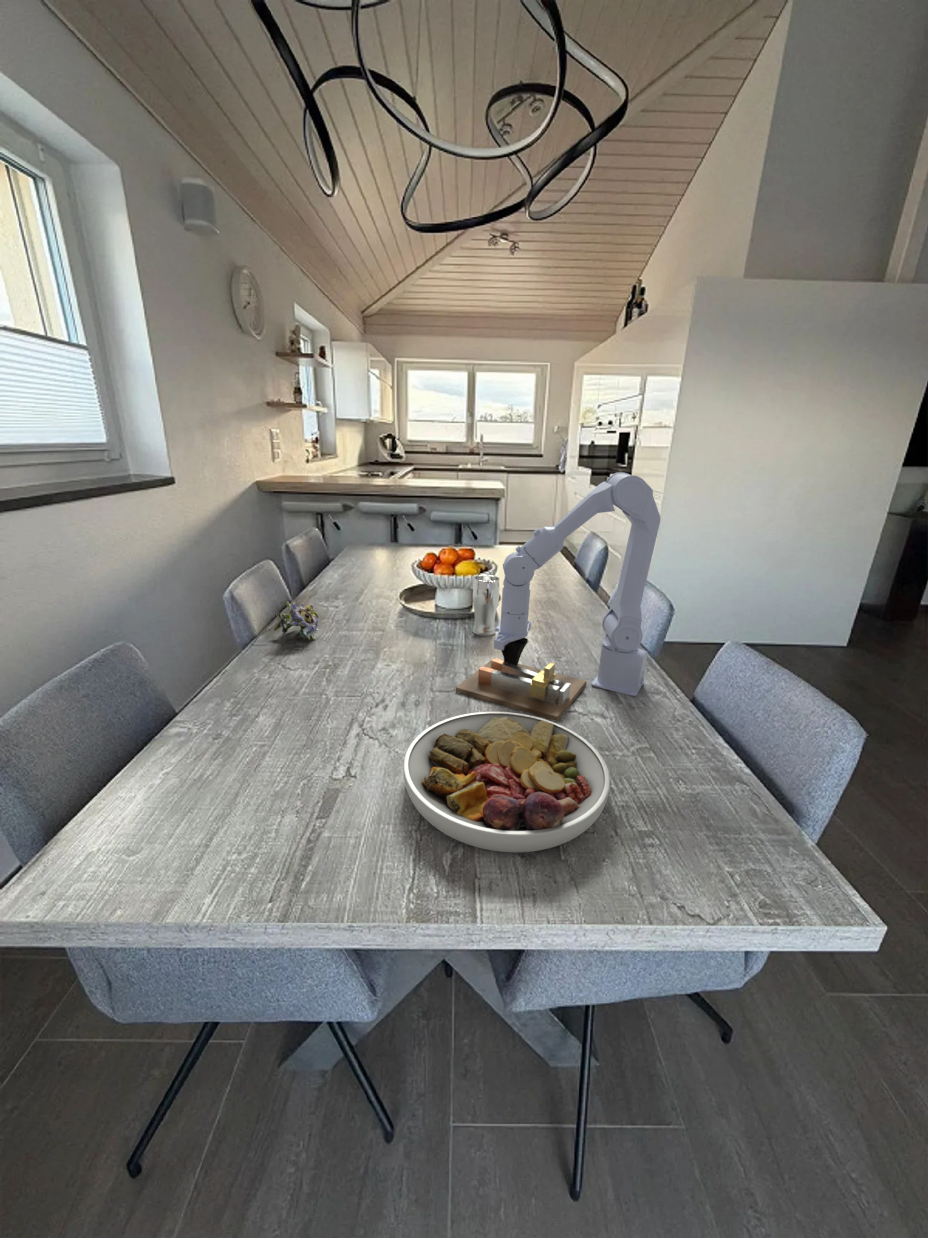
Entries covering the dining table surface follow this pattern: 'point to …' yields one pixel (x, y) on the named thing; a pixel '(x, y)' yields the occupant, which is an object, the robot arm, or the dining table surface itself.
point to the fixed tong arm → (521, 685)
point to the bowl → (506, 781)
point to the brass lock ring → (542, 681)
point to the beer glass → (485, 604)
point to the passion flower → (300, 620)
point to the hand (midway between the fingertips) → (510, 669)
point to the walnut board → (519, 701)
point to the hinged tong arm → (519, 671)
